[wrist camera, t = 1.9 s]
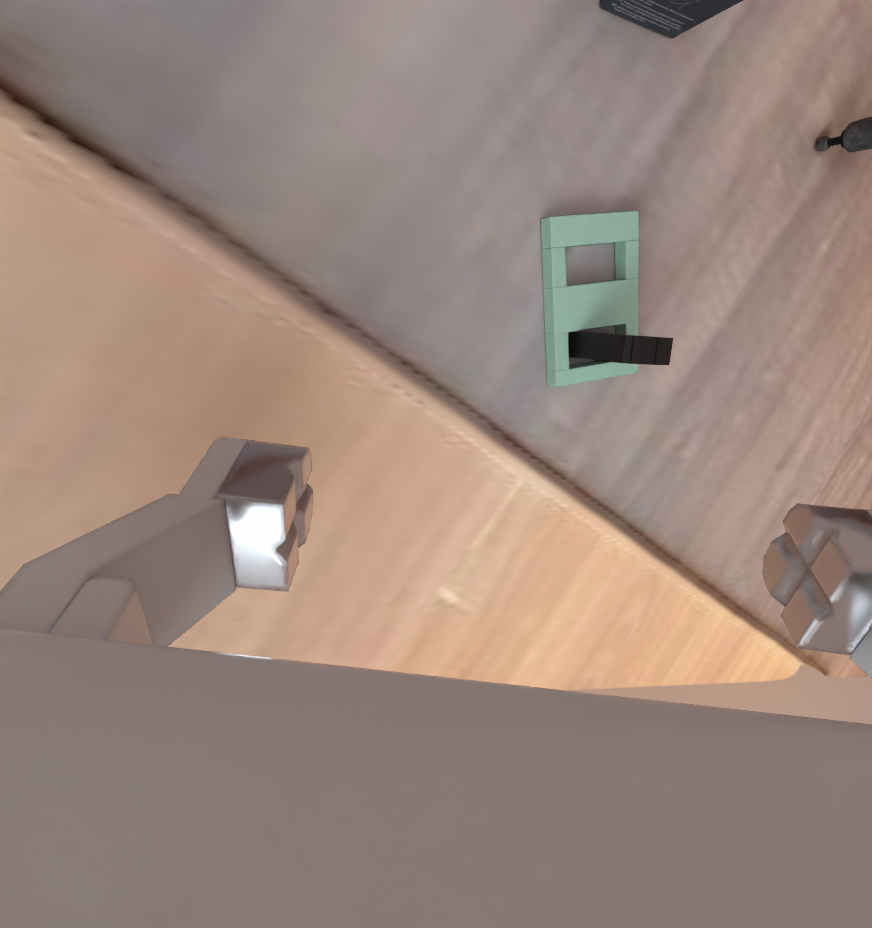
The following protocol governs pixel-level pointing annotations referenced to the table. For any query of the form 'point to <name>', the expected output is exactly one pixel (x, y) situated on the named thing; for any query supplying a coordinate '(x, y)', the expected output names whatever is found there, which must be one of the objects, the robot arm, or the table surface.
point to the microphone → (850, 137)
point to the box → (667, 12)
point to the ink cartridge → (620, 348)
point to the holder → (588, 291)
